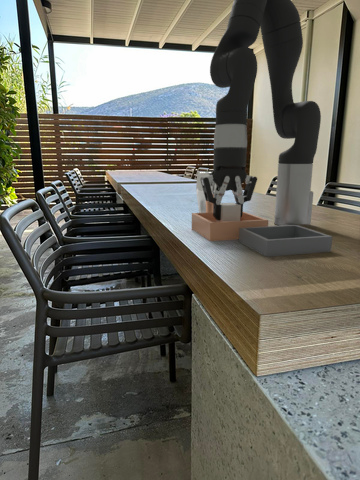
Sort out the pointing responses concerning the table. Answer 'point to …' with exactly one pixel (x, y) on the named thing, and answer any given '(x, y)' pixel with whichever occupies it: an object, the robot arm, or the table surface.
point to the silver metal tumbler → (202, 203)
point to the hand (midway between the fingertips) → (227, 219)
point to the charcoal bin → (284, 240)
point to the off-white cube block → (230, 212)
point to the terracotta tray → (224, 226)
